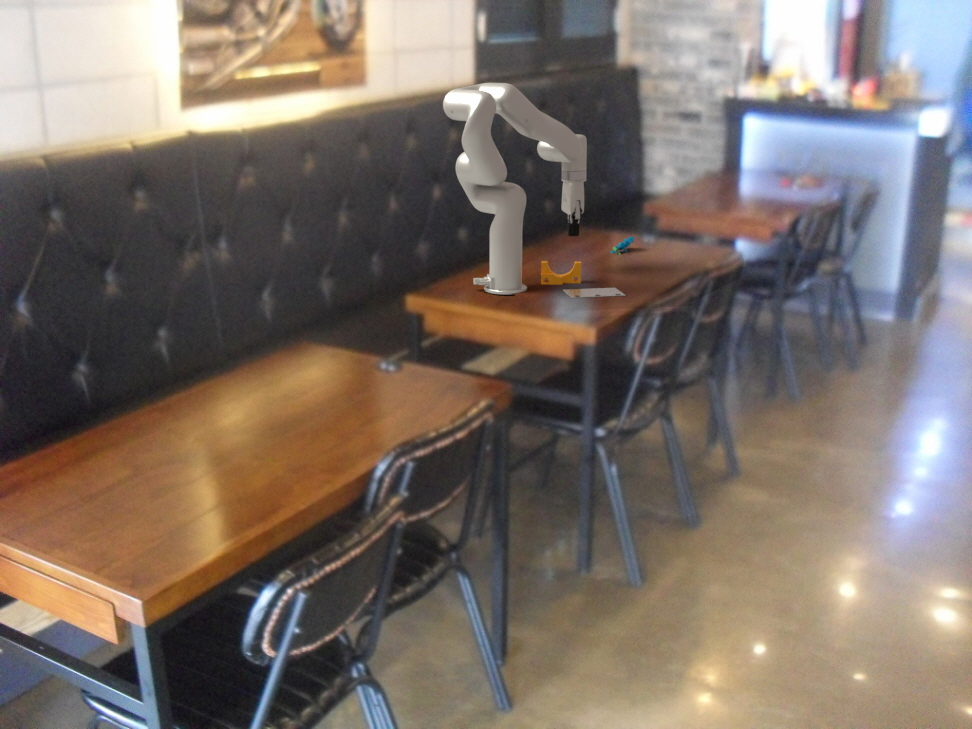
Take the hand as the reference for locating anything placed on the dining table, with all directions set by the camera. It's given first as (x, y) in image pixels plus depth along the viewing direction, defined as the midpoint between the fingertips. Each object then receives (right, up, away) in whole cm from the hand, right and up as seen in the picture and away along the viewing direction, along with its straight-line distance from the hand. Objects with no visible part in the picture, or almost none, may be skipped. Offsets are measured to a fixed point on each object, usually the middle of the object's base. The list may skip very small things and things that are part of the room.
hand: (573, 235), depth 325 cm
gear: (+17, -5, +32) cm, 37 cm away
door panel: (+4, -19, -20) cm, 28 cm away
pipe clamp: (-4, -16, -7) cm, 18 cm away
